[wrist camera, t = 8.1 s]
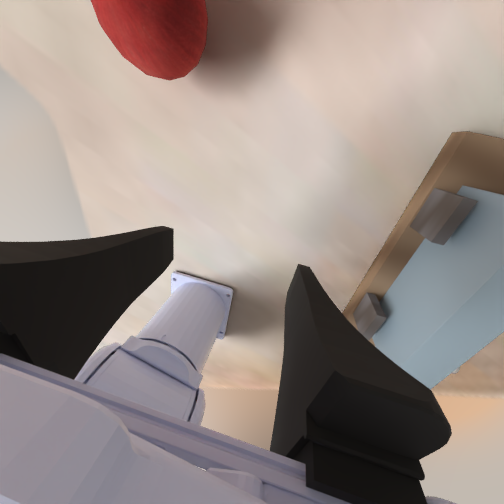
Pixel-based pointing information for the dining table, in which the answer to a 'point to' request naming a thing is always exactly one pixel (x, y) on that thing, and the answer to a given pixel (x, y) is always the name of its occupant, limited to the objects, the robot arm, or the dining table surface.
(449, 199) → the rail
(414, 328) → the pale blue rectangular block
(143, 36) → the onion
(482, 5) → the dining table surface
